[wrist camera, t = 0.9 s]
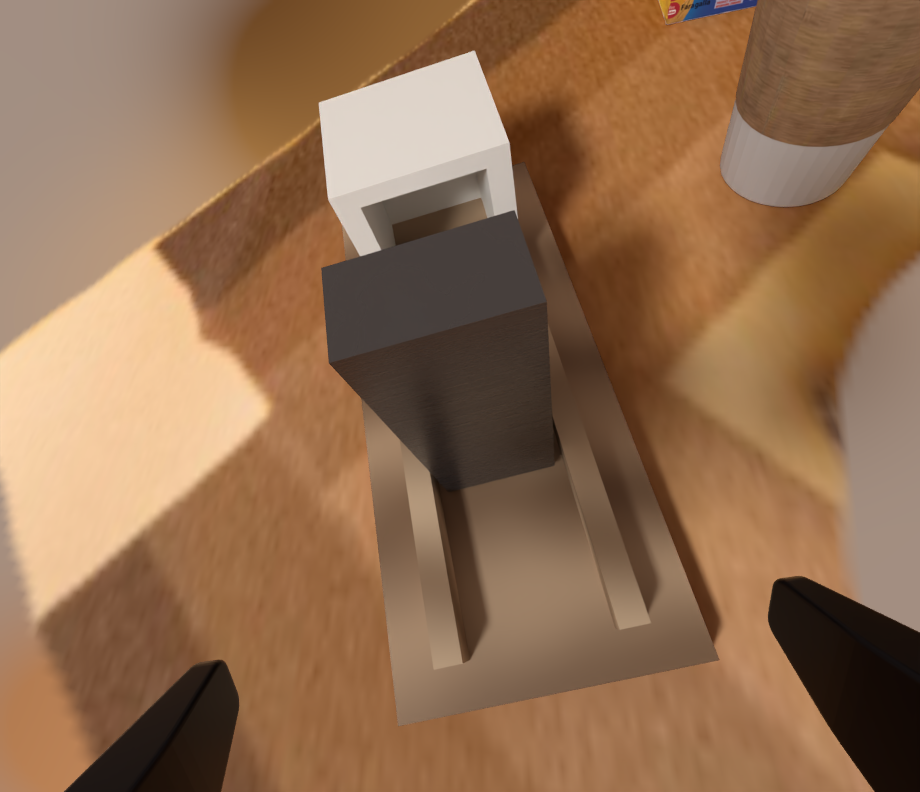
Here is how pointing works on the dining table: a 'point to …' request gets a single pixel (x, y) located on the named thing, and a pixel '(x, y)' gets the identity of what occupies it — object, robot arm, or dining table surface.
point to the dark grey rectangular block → (450, 349)
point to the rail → (529, 536)
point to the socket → (415, 150)
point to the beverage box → (699, 8)
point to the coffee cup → (817, 94)
